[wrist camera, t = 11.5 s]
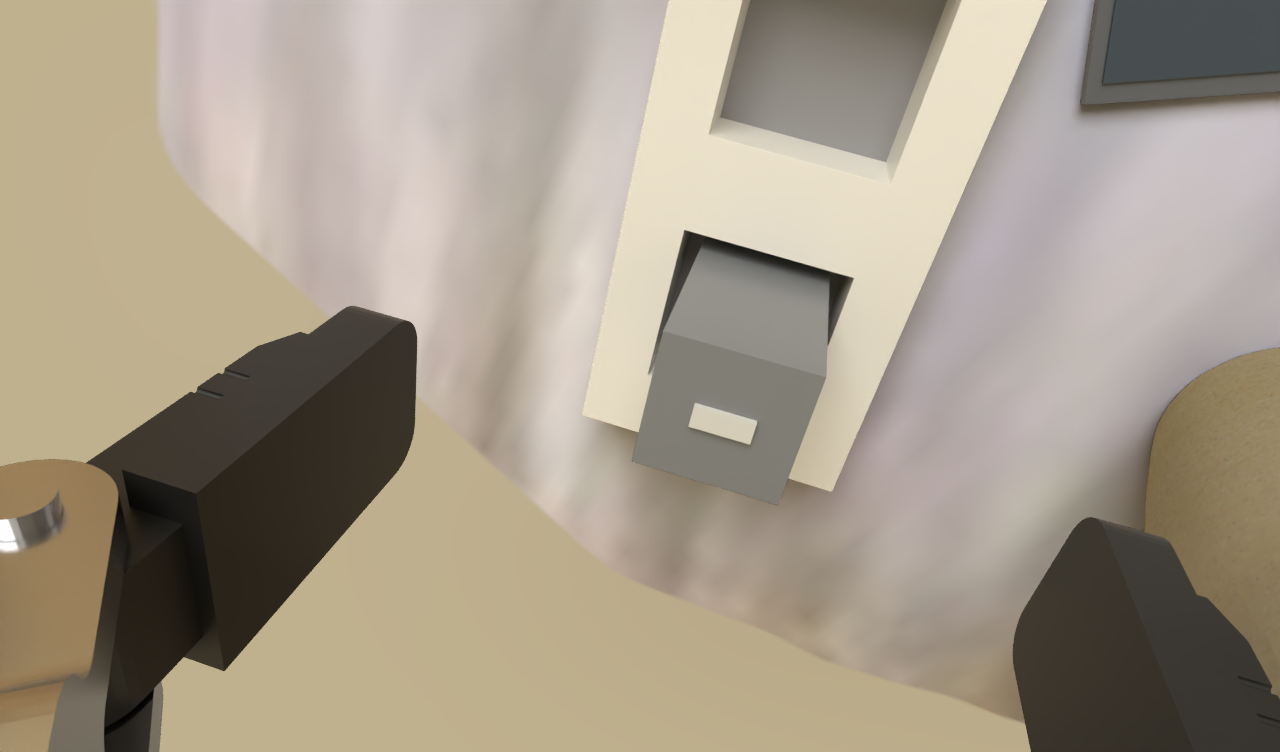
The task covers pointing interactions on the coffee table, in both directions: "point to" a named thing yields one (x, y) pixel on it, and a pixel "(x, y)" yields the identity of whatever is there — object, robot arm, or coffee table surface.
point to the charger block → (737, 371)
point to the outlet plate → (805, 175)
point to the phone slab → (1181, 49)
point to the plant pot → (1226, 494)
